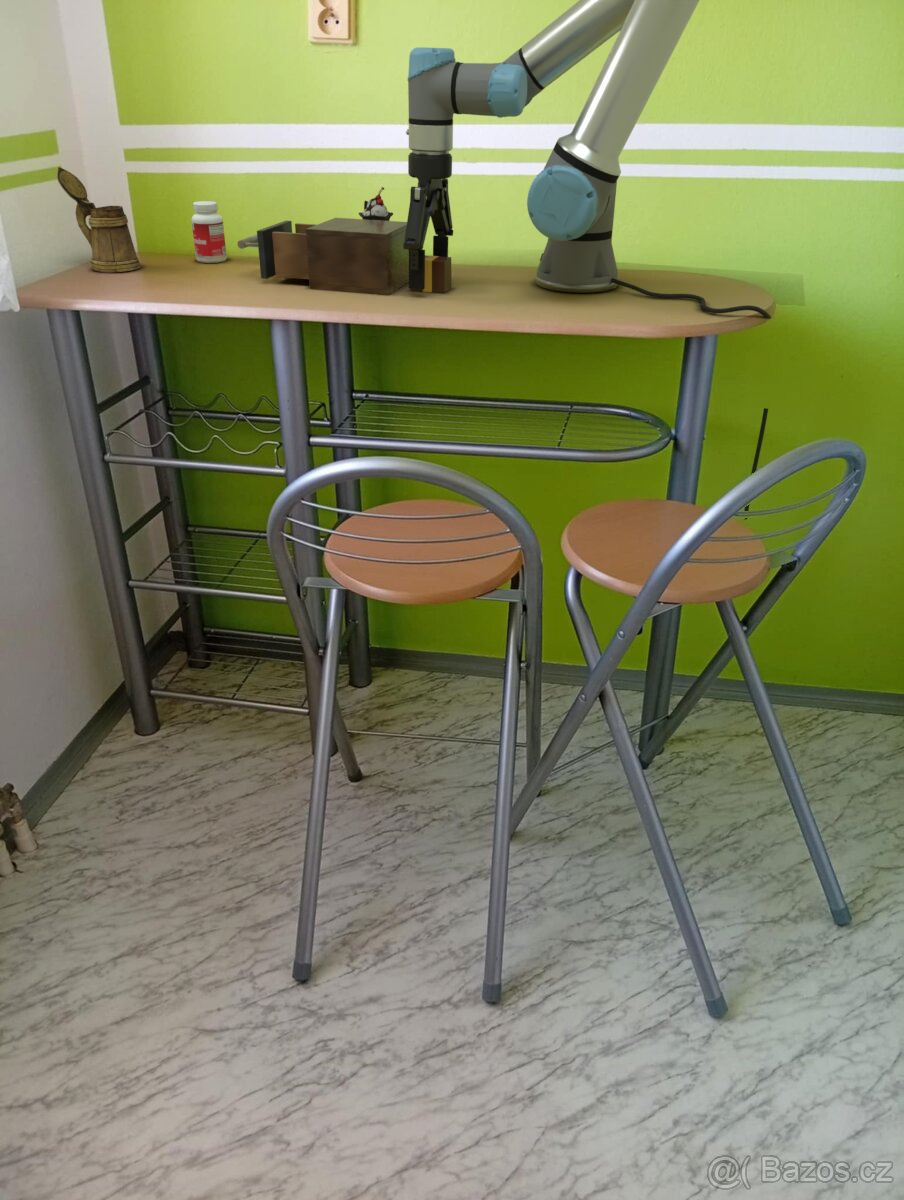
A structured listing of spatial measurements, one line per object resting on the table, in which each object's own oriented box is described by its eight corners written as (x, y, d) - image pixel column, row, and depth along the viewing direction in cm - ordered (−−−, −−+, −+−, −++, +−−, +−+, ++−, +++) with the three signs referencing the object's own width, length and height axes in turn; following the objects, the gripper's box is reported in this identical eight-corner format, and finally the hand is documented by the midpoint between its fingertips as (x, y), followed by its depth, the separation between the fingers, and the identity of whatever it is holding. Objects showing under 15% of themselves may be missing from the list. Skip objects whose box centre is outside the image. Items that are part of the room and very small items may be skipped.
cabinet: (309, 288, 173) (305, 228, 167) (338, 274, 184) (335, 217, 178) (388, 295, 169) (386, 234, 164) (412, 279, 180) (411, 222, 175)
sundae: (393, 271, 186) (391, 188, 179) (359, 270, 186) (355, 188, 179) (395, 264, 192) (393, 184, 184) (362, 264, 192) (359, 183, 185)
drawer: (233, 276, 177) (228, 228, 172) (262, 264, 187) (258, 218, 182) (331, 284, 172) (328, 235, 167) (356, 271, 182) (354, 224, 177)
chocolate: (451, 288, 174) (451, 256, 171) (444, 293, 170) (444, 261, 168) (417, 285, 175) (417, 254, 173) (410, 290, 172) (409, 258, 169)
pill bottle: (191, 260, 194) (183, 202, 188) (218, 256, 197) (211, 199, 192) (205, 264, 190) (197, 205, 184) (232, 261, 193) (226, 203, 188)
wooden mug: (88, 261, 192) (71, 164, 183) (149, 265, 189) (134, 166, 180) (63, 270, 185) (43, 169, 175) (125, 274, 182) (108, 172, 173)
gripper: (432, 144, 172) (430, 265, 183) (383, 157, 152) (385, 293, 163) (471, 146, 171) (467, 268, 182) (428, 160, 150) (426, 297, 161)
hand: (428, 280), depth 172 cm, fingers open, 13 cm apart
